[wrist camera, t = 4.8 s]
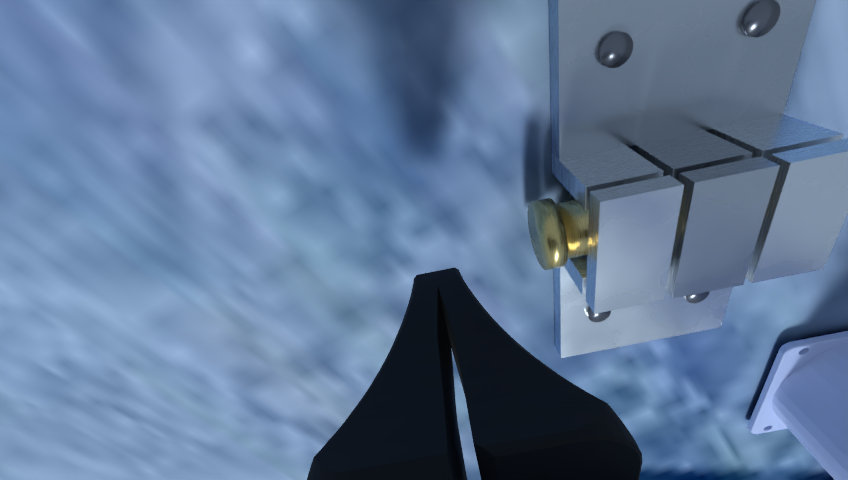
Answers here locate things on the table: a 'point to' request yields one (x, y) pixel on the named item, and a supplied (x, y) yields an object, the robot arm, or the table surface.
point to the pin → (557, 231)
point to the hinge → (683, 162)
